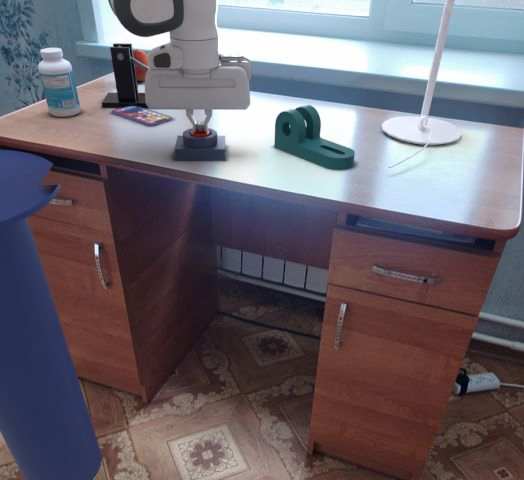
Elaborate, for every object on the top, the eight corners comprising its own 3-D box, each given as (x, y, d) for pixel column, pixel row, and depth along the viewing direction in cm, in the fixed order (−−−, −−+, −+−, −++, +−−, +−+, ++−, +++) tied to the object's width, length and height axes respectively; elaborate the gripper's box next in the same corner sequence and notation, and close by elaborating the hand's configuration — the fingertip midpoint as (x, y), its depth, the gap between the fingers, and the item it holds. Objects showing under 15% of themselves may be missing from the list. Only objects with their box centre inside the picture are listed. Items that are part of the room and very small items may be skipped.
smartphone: (134, 108, 128) (174, 121, 121) (110, 114, 124) (150, 128, 117) (133, 104, 127) (174, 117, 120) (109, 110, 123) (150, 124, 116)
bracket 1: (154, 97, 134) (148, 42, 125) (150, 108, 127) (143, 50, 118) (108, 97, 133) (99, 41, 124) (102, 107, 126) (91, 49, 118)
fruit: (120, 81, 145) (115, 49, 140) (141, 76, 150) (137, 45, 144) (138, 86, 141) (134, 54, 136) (159, 80, 146) (156, 49, 141)
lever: (167, 88, 130) (173, 75, 128) (166, 91, 127) (172, 79, 125) (115, 55, 124) (120, 42, 122) (113, 59, 122) (118, 45, 120)
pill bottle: (61, 107, 126) (47, 45, 117) (87, 110, 124) (74, 47, 115) (43, 115, 121) (26, 51, 112) (69, 119, 119) (55, 54, 110)
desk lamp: (381, 116, 125) (423, -134, 95) (456, 122, 123) (523, -133, 93) (378, 175, 98) (435, -151, 68) (474, 184, 95) (577, -149, 66)
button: (190, 144, 102) (189, 135, 100) (191, 137, 105) (190, 128, 103) (210, 144, 102) (209, 135, 101) (210, 137, 105) (210, 128, 104)
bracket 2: (274, 146, 108) (275, 107, 103) (296, 139, 112) (298, 101, 106) (338, 172, 99) (343, 130, 93) (360, 163, 102) (366, 123, 97)
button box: (175, 160, 102) (173, 140, 99) (178, 146, 108) (176, 126, 105) (225, 160, 102) (224, 140, 99) (225, 146, 108) (224, 126, 105)
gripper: (251, 50, 96) (251, 126, 105) (142, 50, 95) (152, 126, 104) (252, 58, 91) (252, 137, 100) (138, 57, 90) (148, 137, 99)
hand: (200, 131), depth 102 cm, fingers closed, pressing on button
